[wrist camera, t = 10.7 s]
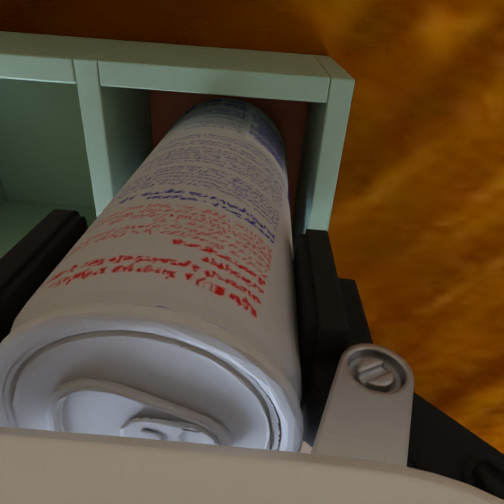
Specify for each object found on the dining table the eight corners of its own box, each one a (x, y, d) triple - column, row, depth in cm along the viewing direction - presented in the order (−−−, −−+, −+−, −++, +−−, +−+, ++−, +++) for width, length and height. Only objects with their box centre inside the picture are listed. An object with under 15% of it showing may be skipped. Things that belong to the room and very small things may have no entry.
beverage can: (147, 127, 19) (-110, 376, 6) (255, 72, 18) (204, 254, 5) (204, 224, 22) (102, 542, 9) (303, 184, 20) (351, 494, 8)
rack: (4, 206, 24) (-83, 272, 18) (-45, 27, 19) (-185, 38, 13) (305, 229, 24) (314, 303, 18) (330, 55, 19) (355, 79, 13)
